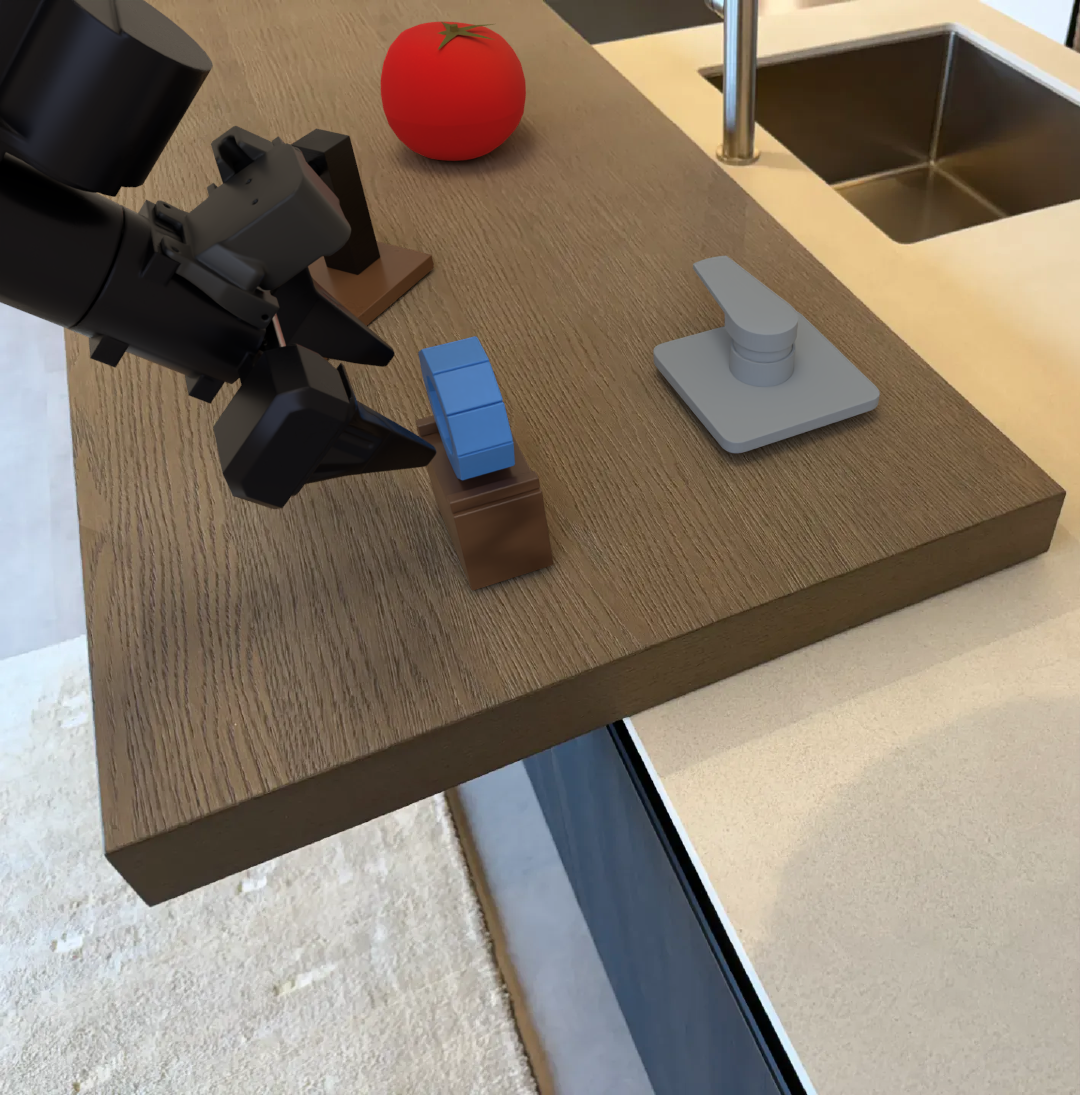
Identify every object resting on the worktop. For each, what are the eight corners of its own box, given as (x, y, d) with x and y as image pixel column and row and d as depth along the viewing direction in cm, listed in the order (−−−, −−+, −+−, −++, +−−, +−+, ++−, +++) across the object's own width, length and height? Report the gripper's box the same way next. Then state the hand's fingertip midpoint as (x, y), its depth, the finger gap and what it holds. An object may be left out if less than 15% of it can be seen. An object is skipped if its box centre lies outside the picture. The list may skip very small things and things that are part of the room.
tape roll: (469, 507, 56) (445, 402, 51) (434, 427, 61) (409, 323, 56) (522, 491, 57) (504, 387, 52) (484, 414, 62) (464, 311, 57)
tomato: (369, 140, 100) (342, 14, 92) (497, 109, 106) (482, -12, 98) (425, 192, 93) (401, 61, 85) (558, 155, 99) (548, 30, 91)
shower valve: (781, 237, 78) (896, 341, 69) (776, 300, 82) (884, 406, 73) (631, 274, 73) (733, 390, 64) (633, 339, 77) (729, 457, 68)
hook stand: (317, 368, 75) (270, 226, 67) (207, 336, 77) (149, 196, 69) (434, 267, 85) (405, 133, 76) (333, 242, 87) (295, 109, 79)
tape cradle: (471, 591, 60) (450, 507, 55) (435, 501, 65) (413, 416, 60) (554, 565, 62) (540, 480, 57) (512, 478, 67) (496, 394, 62)
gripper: (215, 214, 35) (557, 390, 47) (166, 28, 47) (450, 205, 58) (66, 452, 39) (420, 562, 50) (55, 223, 50) (344, 355, 62)
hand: (409, 405), depth 55 cm, fingers open, 9 cm apart
